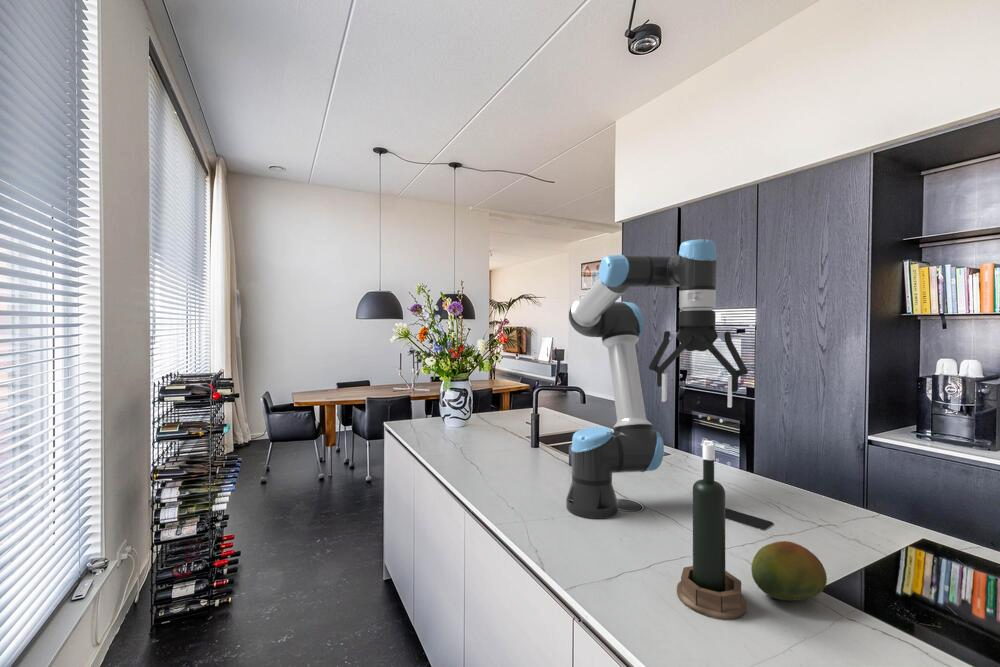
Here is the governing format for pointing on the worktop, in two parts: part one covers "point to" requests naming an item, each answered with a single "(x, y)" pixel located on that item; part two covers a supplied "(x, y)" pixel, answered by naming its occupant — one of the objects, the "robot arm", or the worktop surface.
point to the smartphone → (747, 520)
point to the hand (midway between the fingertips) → (695, 403)
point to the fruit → (788, 571)
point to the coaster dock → (712, 597)
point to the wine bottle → (709, 526)
